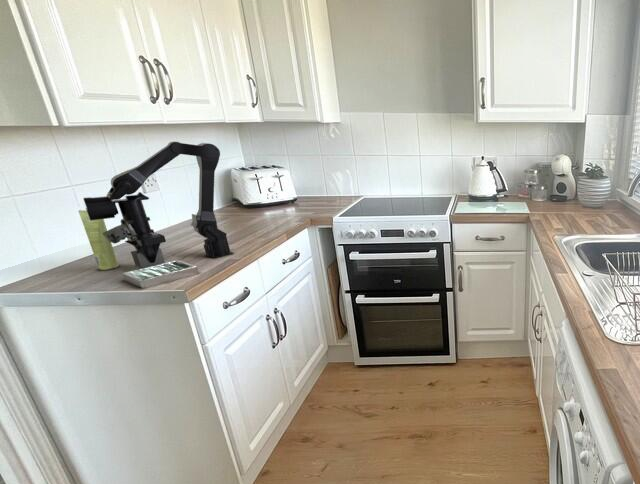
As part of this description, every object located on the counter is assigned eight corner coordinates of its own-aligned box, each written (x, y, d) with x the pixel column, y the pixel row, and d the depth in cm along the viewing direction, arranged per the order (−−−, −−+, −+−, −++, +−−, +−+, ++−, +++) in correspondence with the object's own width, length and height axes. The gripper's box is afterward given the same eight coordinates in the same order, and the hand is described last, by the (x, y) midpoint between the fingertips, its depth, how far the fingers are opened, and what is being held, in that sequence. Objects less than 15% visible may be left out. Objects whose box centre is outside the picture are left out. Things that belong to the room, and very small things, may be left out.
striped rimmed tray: (180, 266, 139) (177, 259, 138) (198, 273, 133) (196, 266, 132) (124, 280, 127) (121, 273, 126) (142, 288, 121) (139, 280, 120)
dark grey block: (159, 260, 141) (154, 246, 140) (165, 262, 139) (160, 248, 137) (135, 266, 136) (130, 251, 134) (141, 268, 134) (136, 253, 132)
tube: (121, 264, 142) (102, 207, 136) (121, 267, 139) (100, 210, 132) (99, 267, 139) (78, 210, 132) (98, 271, 135) (76, 212, 129)
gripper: (89, 216, 130) (107, 263, 135) (113, 223, 121) (130, 273, 126) (134, 210, 139) (148, 254, 144) (159, 216, 130) (173, 263, 135)
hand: (149, 261), depth 137 cm, fingers closed on dark grey block, 4 cm apart
